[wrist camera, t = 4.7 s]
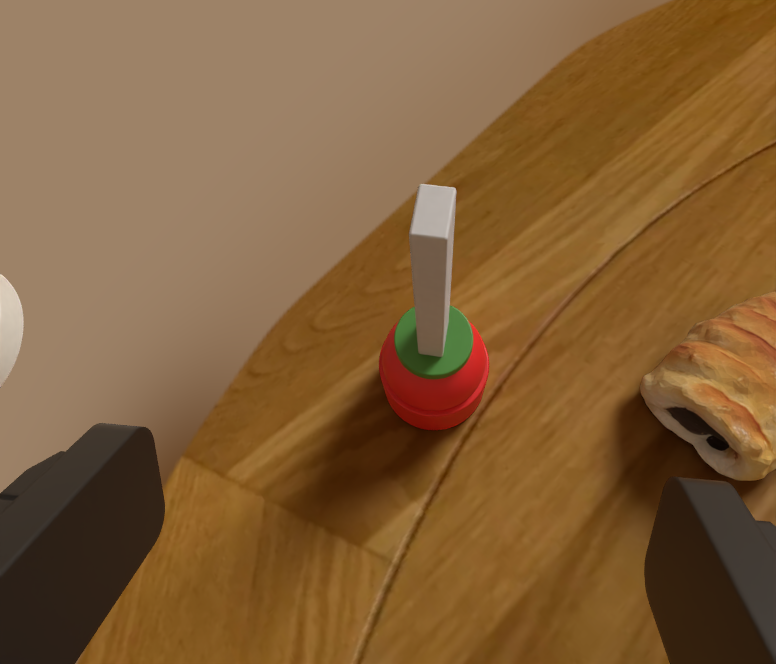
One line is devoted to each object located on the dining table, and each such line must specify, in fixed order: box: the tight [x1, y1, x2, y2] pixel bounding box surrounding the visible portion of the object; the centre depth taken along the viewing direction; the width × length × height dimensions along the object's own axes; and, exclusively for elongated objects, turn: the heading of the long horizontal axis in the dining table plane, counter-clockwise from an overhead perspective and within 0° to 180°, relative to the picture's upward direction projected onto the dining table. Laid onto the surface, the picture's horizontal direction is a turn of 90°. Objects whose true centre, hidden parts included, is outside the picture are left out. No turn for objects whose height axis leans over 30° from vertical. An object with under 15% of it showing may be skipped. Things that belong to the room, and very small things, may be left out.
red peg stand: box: [379, 184, 489, 430], centre depth 22 cm, size 5×5×15 cm
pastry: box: [640, 292, 776, 481], centre depth 26 cm, size 9×7×4 cm
